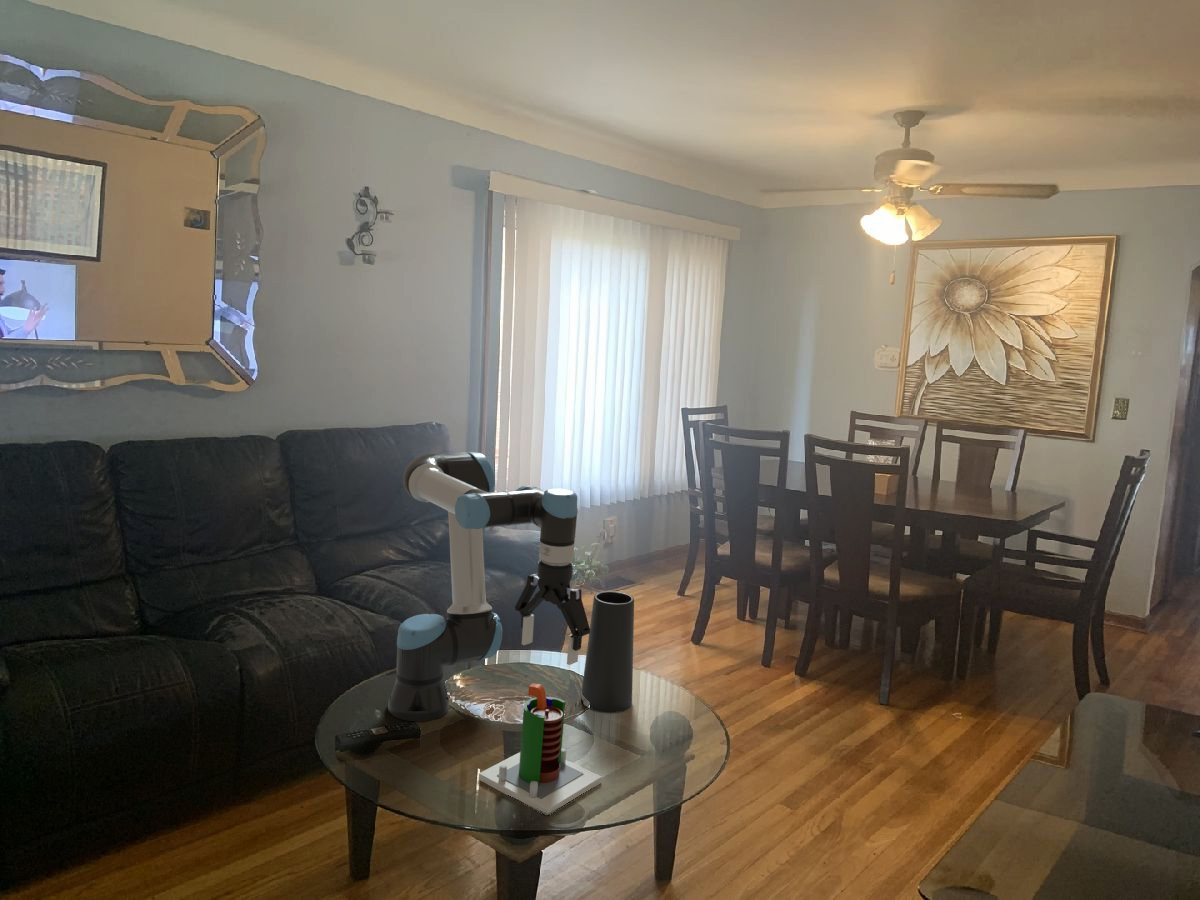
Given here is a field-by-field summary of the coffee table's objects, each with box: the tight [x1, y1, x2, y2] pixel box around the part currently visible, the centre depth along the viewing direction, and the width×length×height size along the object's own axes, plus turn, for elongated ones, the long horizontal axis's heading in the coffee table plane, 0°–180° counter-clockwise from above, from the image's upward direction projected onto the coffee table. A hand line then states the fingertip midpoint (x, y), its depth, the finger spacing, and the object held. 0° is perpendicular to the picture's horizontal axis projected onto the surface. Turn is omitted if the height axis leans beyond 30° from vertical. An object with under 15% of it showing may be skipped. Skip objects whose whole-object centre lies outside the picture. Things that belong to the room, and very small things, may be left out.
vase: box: [581, 590, 635, 714], centre depth 234 cm, size 14×14×29 cm
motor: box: [519, 683, 566, 786], centre depth 194 cm, size 10×9×20 cm
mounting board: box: [478, 748, 602, 813], centre depth 195 cm, size 20×18×4 cm
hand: (549, 653), depth 196 cm, fingers open, 13 cm apart
